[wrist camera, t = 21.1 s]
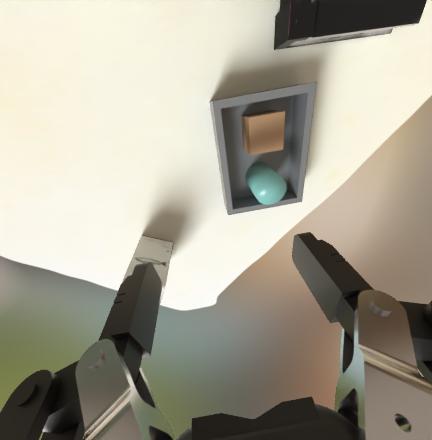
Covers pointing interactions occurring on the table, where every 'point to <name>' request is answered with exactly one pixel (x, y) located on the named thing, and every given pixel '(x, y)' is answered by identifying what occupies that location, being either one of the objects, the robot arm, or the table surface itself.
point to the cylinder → (265, 183)
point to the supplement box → (152, 257)
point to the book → (341, 20)
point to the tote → (277, 160)
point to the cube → (263, 131)
